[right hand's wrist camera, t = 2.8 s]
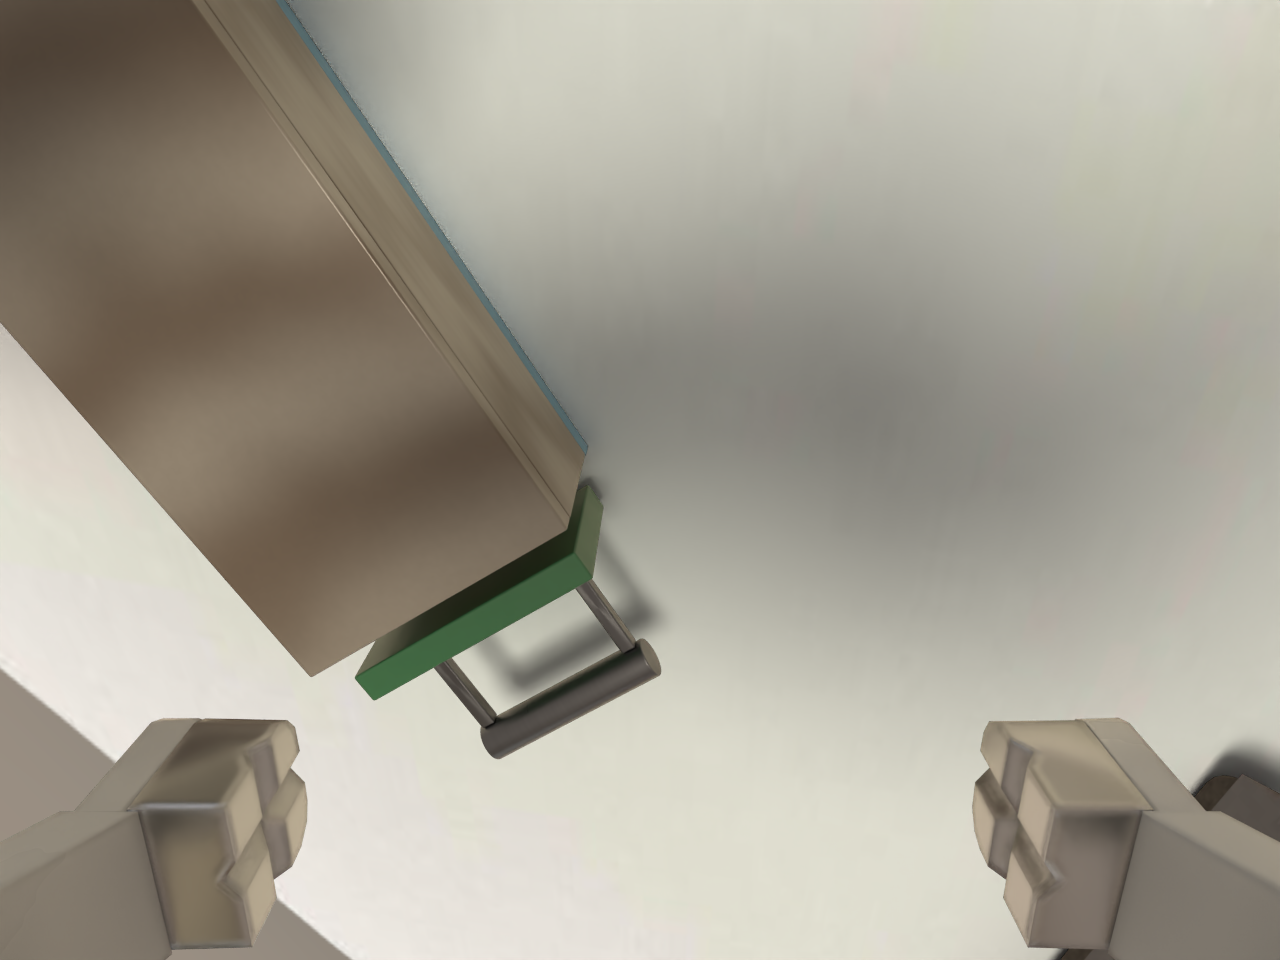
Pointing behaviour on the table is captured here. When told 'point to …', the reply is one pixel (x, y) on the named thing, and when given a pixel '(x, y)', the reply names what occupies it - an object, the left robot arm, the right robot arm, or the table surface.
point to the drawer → (498, 607)
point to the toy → (1234, 799)
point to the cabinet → (265, 315)
